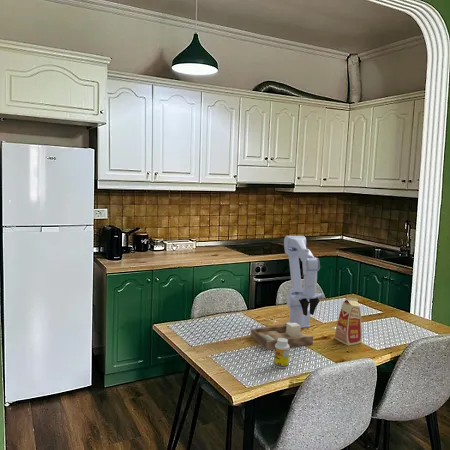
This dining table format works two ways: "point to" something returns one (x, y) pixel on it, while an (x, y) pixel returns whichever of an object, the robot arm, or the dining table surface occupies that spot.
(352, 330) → the milk carton
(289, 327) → the block
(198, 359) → the dining table surface
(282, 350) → the supplement bottle
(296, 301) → the robot arm
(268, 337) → the tray
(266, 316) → the dining table surface
